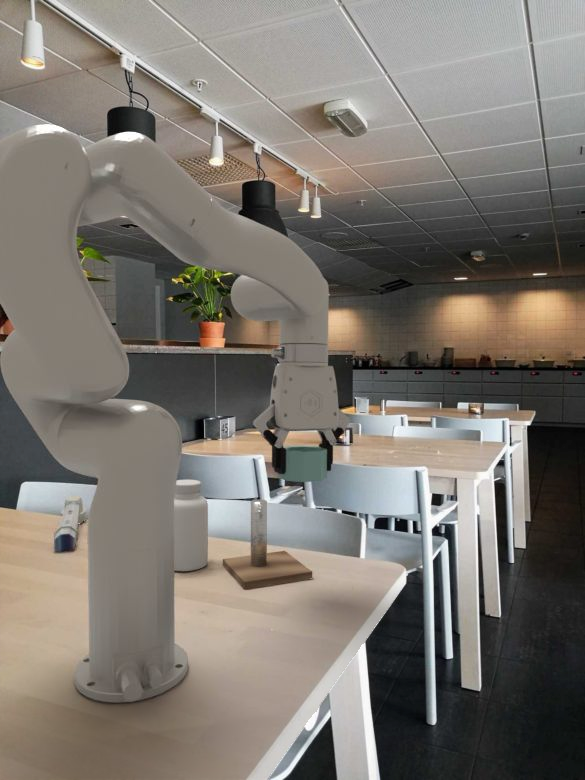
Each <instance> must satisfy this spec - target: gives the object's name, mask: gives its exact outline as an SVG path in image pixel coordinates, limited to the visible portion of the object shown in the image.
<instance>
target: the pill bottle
mask: <svg viewBox="0 0 585 780" xmlns="http://www.w3.org/2000/svg"><path fill="white" fill-rule="evenodd" d="M201 491H202V482H201V481H200V480H197V479H177V481H176V488H175V499H174V572H192V571H196V570H199V569H202V568H204V567H206V566H207V564H208V561H209V504H208V501H207V499H206V497H204V496H202V495H201Z"/></svg>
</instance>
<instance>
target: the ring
mask: <svg viewBox="0 0 585 780" xmlns="http://www.w3.org/2000/svg"><path fill="white" fill-rule="evenodd" d="M283 447H284V448H285V449H286V472H285V474H279V473H277V475H278V476H277V477H278V478H279V479H281V480H284V481H286V482H296V483H298V482H299V483H312V482H322V481H324V480H326V479H327V478H328V471H327V449H325V448H321V447H319V446H315V445H314V446H313V445H312V446H311V445H288V446H283Z"/></svg>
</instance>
